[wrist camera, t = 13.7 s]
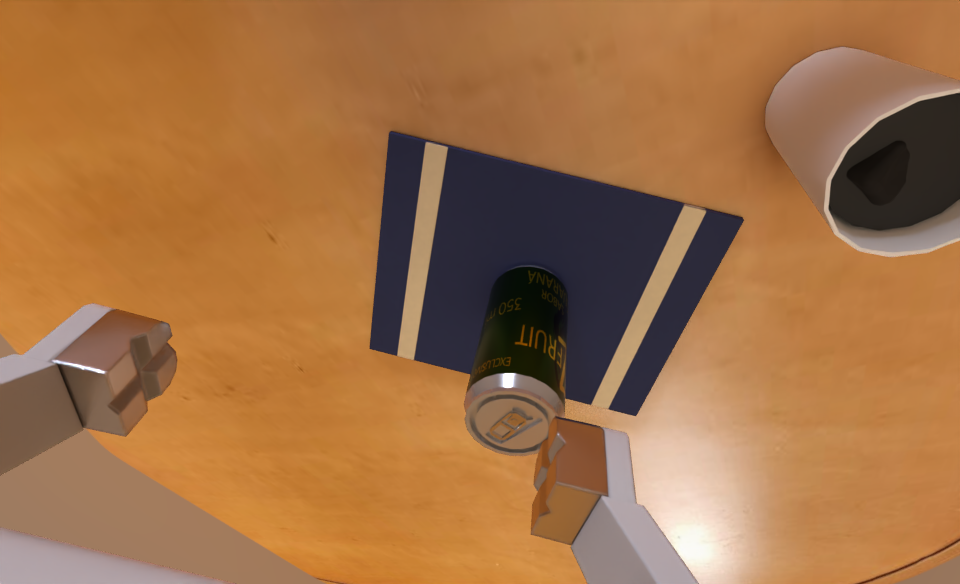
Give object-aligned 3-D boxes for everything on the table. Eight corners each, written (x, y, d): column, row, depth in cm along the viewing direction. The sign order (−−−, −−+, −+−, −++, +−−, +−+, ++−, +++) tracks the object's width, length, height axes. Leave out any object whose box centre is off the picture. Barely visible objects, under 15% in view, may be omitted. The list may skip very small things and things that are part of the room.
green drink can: (535, 335, 39) (520, 472, 29) (476, 296, 38) (440, 424, 28) (585, 290, 36) (586, 425, 27) (523, 246, 35) (501, 370, 25)
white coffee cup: (799, 189, 31) (878, 285, 22) (729, 107, 29) (787, 179, 21) (924, 104, 27) (1070, 181, 19) (854, 5, 25) (983, 43, 17)
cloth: (371, 345, 43) (369, 349, 43) (390, 130, 32) (388, 133, 32) (635, 412, 43) (636, 416, 42) (742, 217, 32) (744, 220, 32)
